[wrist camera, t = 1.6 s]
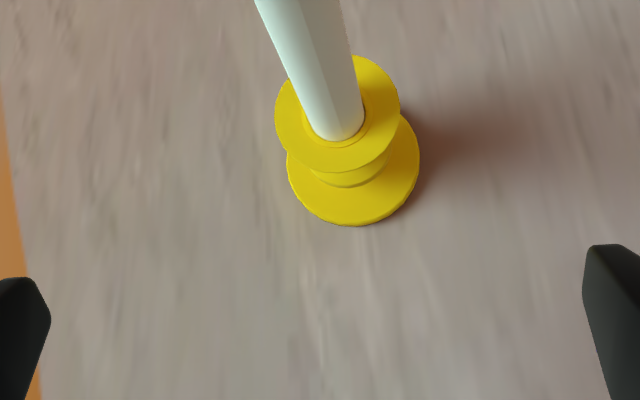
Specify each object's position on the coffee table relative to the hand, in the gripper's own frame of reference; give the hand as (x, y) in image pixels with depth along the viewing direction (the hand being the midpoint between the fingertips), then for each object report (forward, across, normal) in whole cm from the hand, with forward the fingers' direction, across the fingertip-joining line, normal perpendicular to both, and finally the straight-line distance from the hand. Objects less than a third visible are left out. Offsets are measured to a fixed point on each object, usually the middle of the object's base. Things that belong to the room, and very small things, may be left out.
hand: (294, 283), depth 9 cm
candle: (+13, 0, +5) cm, 14 cm away
